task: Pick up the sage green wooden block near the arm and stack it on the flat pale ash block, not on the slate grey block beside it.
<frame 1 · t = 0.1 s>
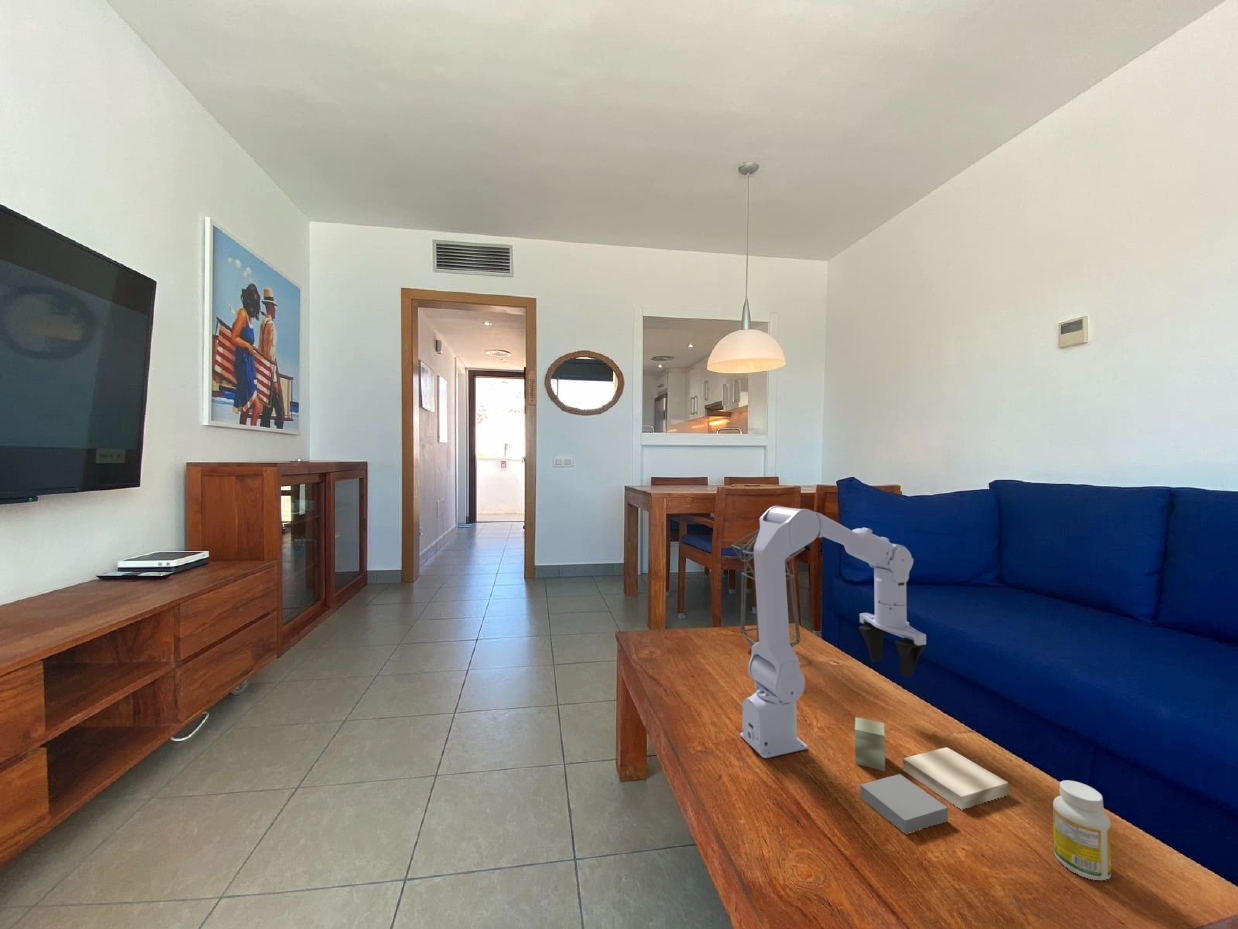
hand: (891, 668, 98), 10 cm above the table, tool pointing down, fingers open, 7 cm apart
supplement bottle: (1081, 866, 61), on the table
geometric lantern: (768, 653, 132), on the table
sage green block: (870, 760, 84), on the table
pale ash block: (953, 782, 78), on the table
slate grey block: (902, 809, 72), on the table
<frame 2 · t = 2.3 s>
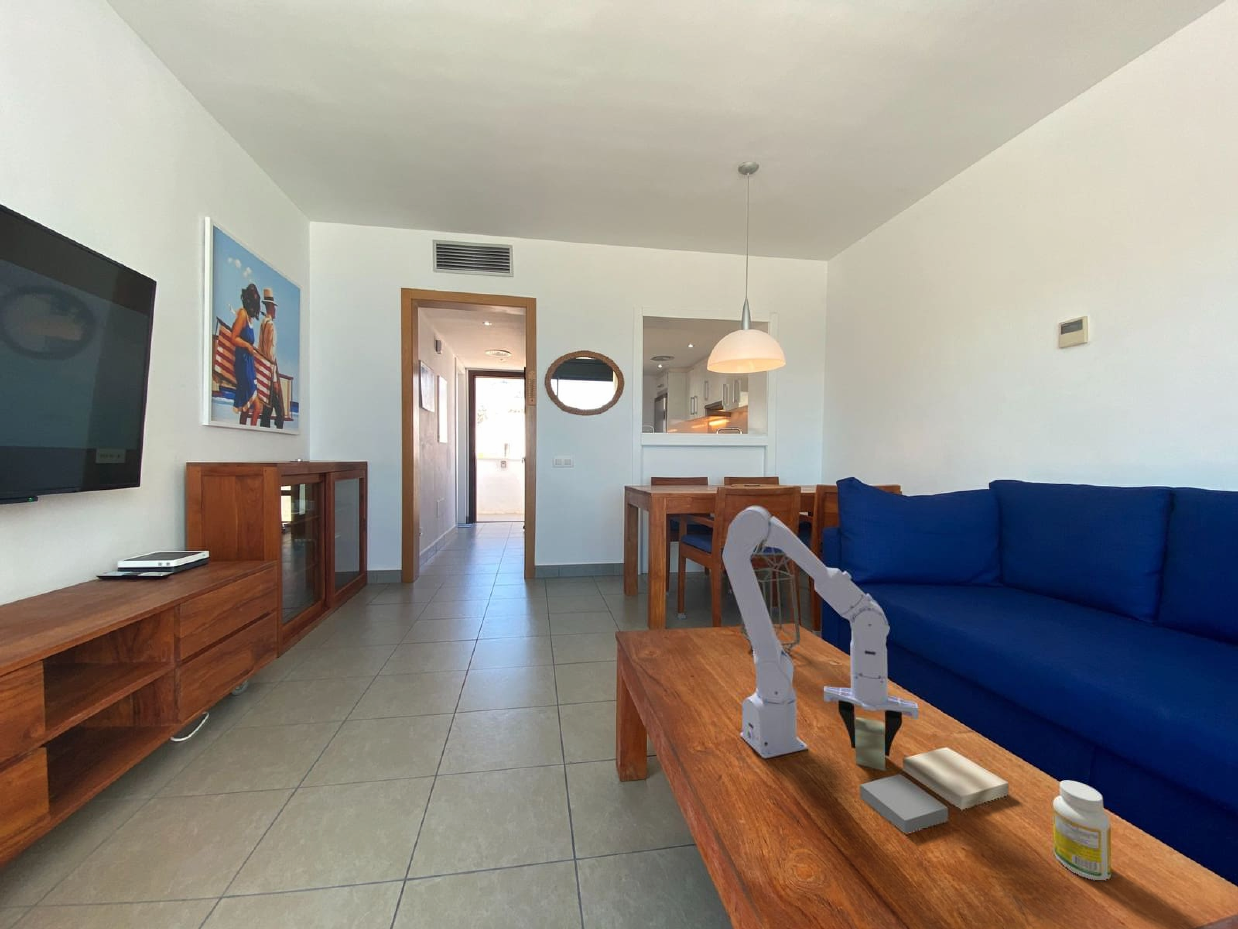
hand: (869, 749, 84), 2 cm above the table, tool pointing down, fingers closed on sage green block, 4 cm apart
sage green block: (870, 760, 84), on the table, touching gripper
everything else where it was.
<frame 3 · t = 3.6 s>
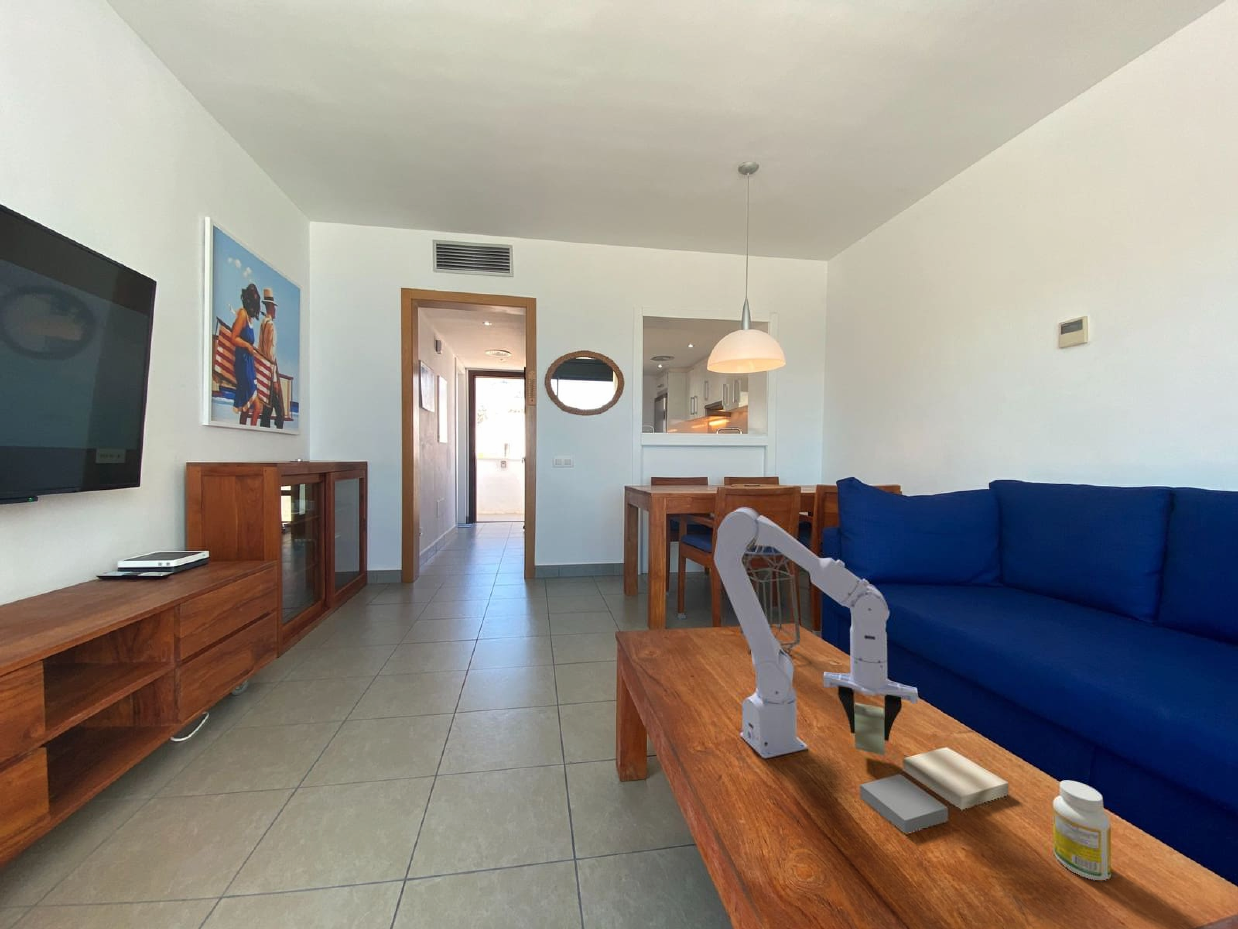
hand: (869, 734, 84), 5 cm above the table, tool pointing down, fingers closed on sage green block, 4 cm apart
sage green block: (869, 745, 84), point 3 cm above the table, touching gripper
everything else where it was.
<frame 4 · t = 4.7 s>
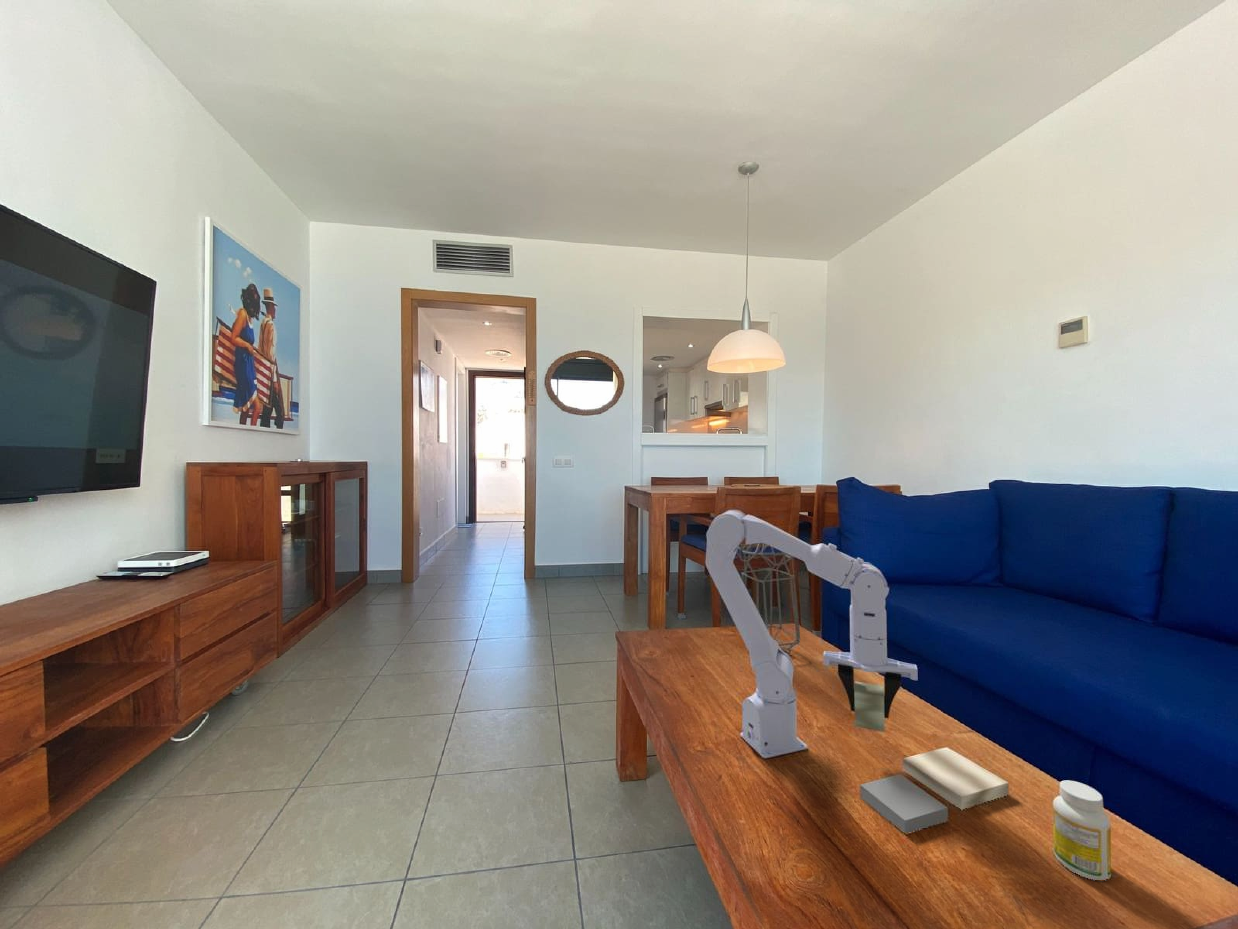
hand: (869, 712, 84), 8 cm above the table, tool pointing down, fingers closed on sage green block, 4 cm apart
sage green block: (869, 723, 84), point 6 cm above the table, touching gripper
everything else where it was.
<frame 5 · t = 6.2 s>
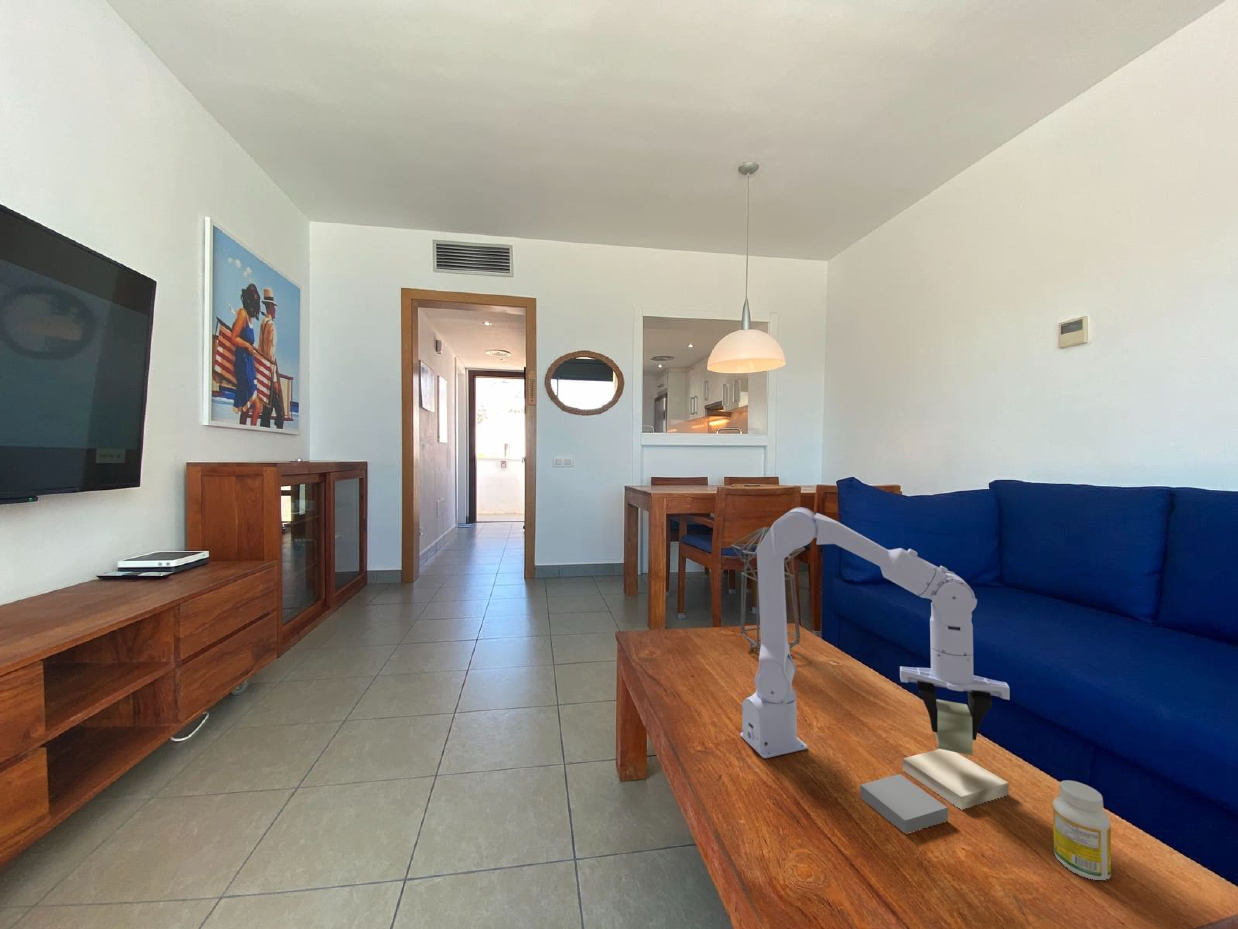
hand: (952, 733, 78), 8 cm above the table, tool pointing down, fingers closed on sage green block, 4 cm apart
sage green block: (953, 744, 78), point 6 cm above the table, touching gripper
everything else where it was.
when the fingers open (5 cm above the table, at t = 7.3 s): sage green block stays where it is, resting on pale ash block.
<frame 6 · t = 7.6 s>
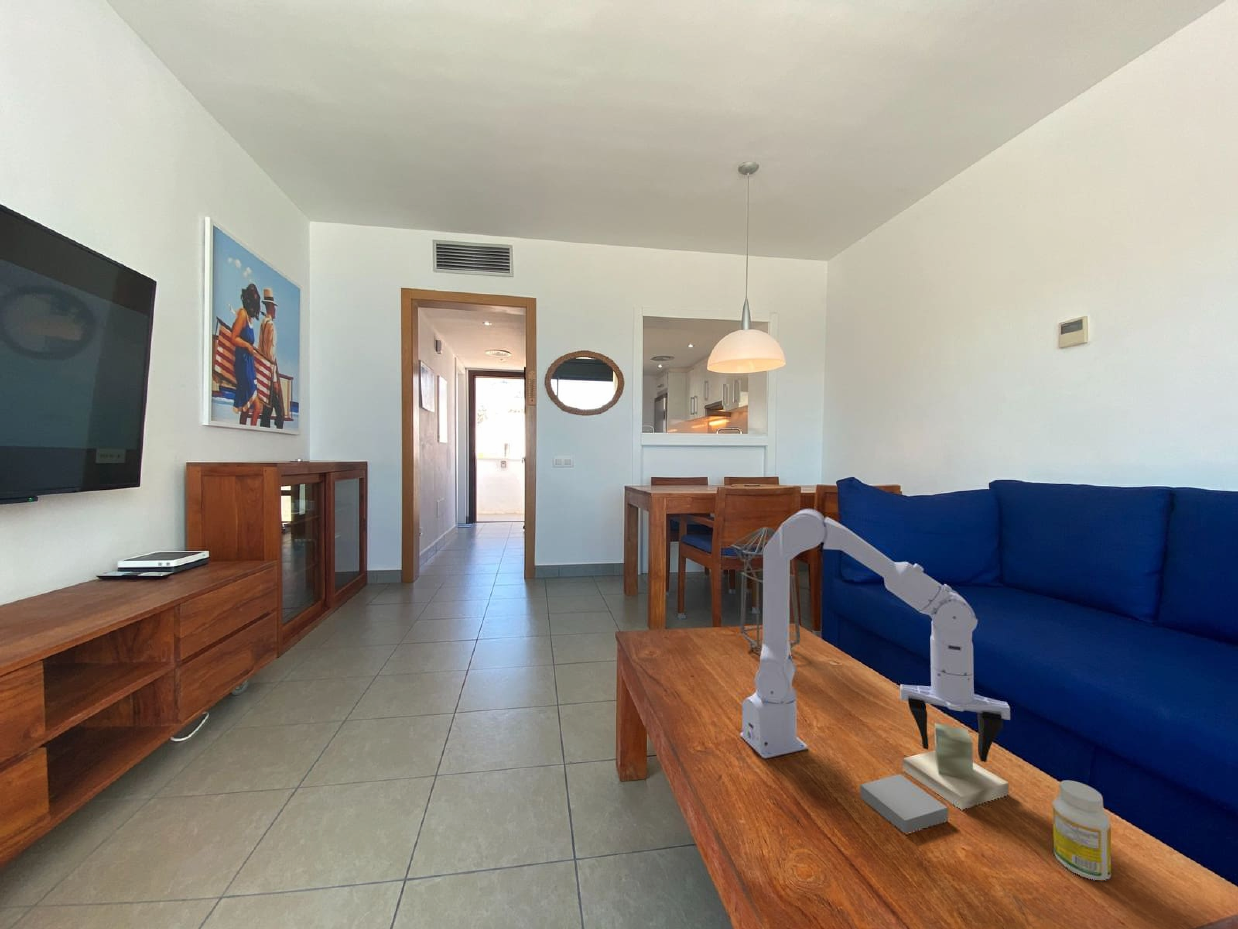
hand: (953, 752, 78), 5 cm above the table, tool pointing down, fingers open, 7 cm apart
sage green block: (953, 770, 78), point 2 cm above the table, touching pale ash block
everything else where it was.
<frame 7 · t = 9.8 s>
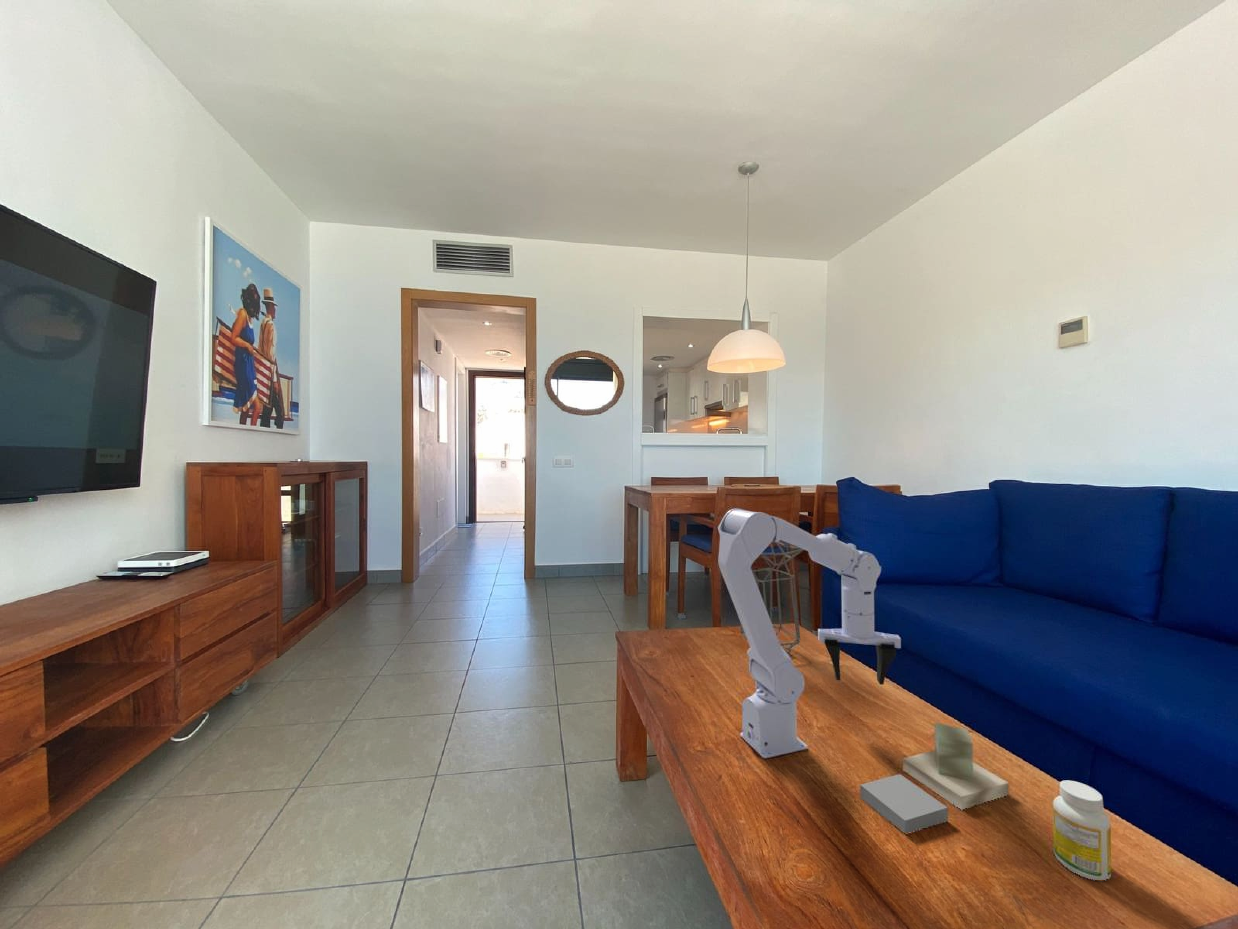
hand: (858, 680, 94), 9 cm above the table, tool pointing down, fingers open, 7 cm apart
nothing on the table moved.
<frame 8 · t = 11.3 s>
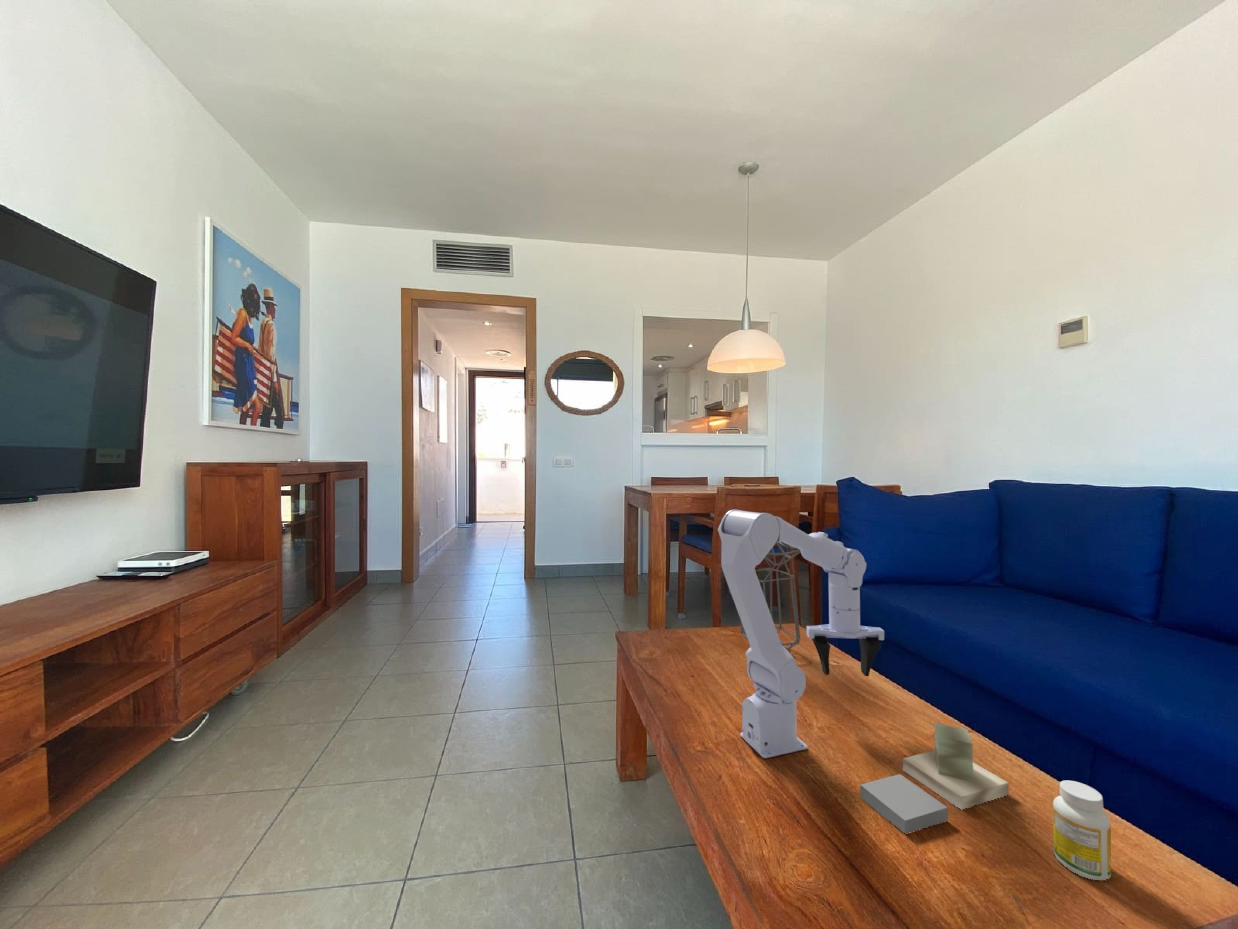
hand: (845, 673, 97), 9 cm above the table, tool pointing down, fingers open, 7 cm apart
nothing on the table moved.
at the end: sage green block 0.0 cm off-centre on the pale ash block, point 2.0 cm above the pale ash block's base; sage green block tilted 0°; the gripper is holding nothing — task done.
